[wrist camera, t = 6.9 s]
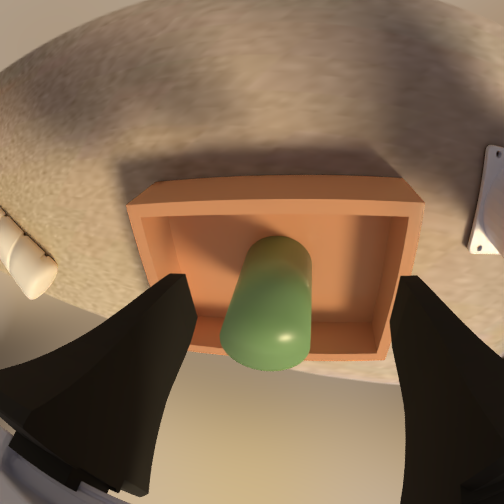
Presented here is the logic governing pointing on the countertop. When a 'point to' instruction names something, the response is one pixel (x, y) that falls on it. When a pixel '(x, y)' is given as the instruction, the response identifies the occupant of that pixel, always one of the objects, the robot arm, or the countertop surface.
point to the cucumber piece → (271, 307)
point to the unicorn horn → (25, 259)
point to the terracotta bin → (295, 227)
